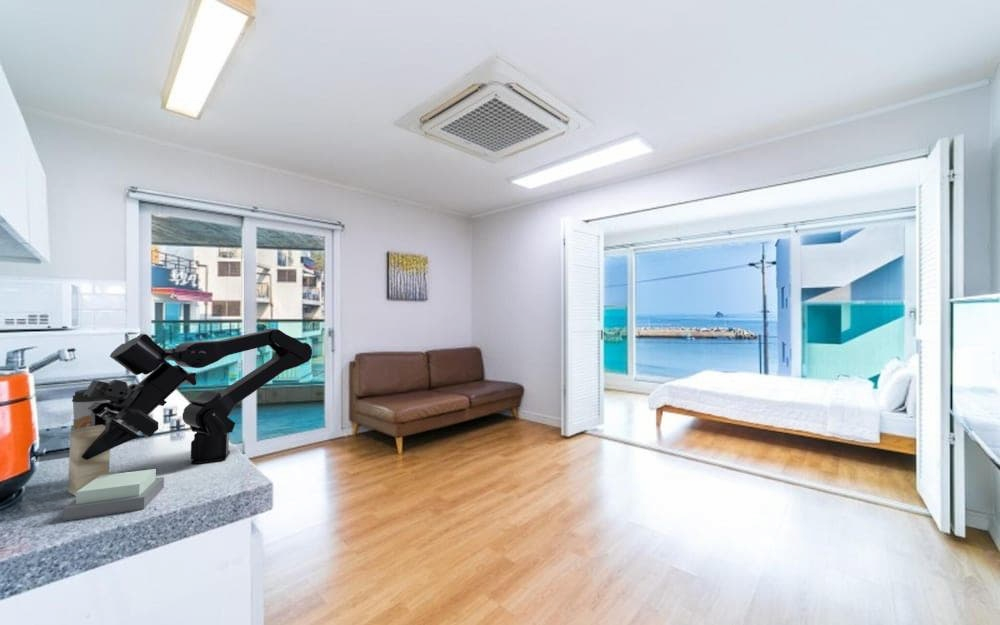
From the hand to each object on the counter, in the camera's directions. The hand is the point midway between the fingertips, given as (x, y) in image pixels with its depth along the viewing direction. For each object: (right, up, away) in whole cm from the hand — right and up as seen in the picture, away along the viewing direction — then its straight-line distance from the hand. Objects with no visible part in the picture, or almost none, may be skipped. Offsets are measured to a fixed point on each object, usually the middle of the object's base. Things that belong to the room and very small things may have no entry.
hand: (79, 456), depth 75 cm
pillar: (+1, -7, +1) cm, 7 cm away
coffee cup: (-23, -8, +25) cm, 35 cm away
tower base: (+12, -7, -4) cm, 14 cm away
